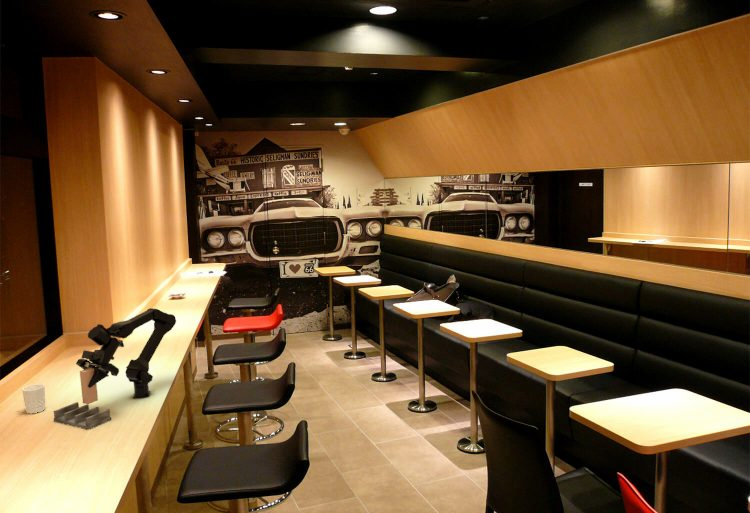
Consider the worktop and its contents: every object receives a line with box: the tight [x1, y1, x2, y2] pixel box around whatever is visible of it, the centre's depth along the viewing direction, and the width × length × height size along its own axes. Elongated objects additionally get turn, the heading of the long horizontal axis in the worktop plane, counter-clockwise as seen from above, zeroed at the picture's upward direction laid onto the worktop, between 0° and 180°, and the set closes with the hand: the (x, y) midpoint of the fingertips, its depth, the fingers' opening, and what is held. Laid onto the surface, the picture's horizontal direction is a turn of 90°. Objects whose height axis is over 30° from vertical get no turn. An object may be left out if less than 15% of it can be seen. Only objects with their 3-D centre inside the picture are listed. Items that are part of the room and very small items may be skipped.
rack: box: [53, 401, 112, 430], centre depth 235 cm, size 10×20×4 cm, turn 63°
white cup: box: [21, 383, 46, 415], centre depth 246 cm, size 8×8×10 cm
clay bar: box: [79, 368, 99, 405], centre depth 237 cm, size 4×3×13 cm, turn 153°
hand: (85, 386), depth 236 cm, fingers closed on clay bar, 3 cm apart
